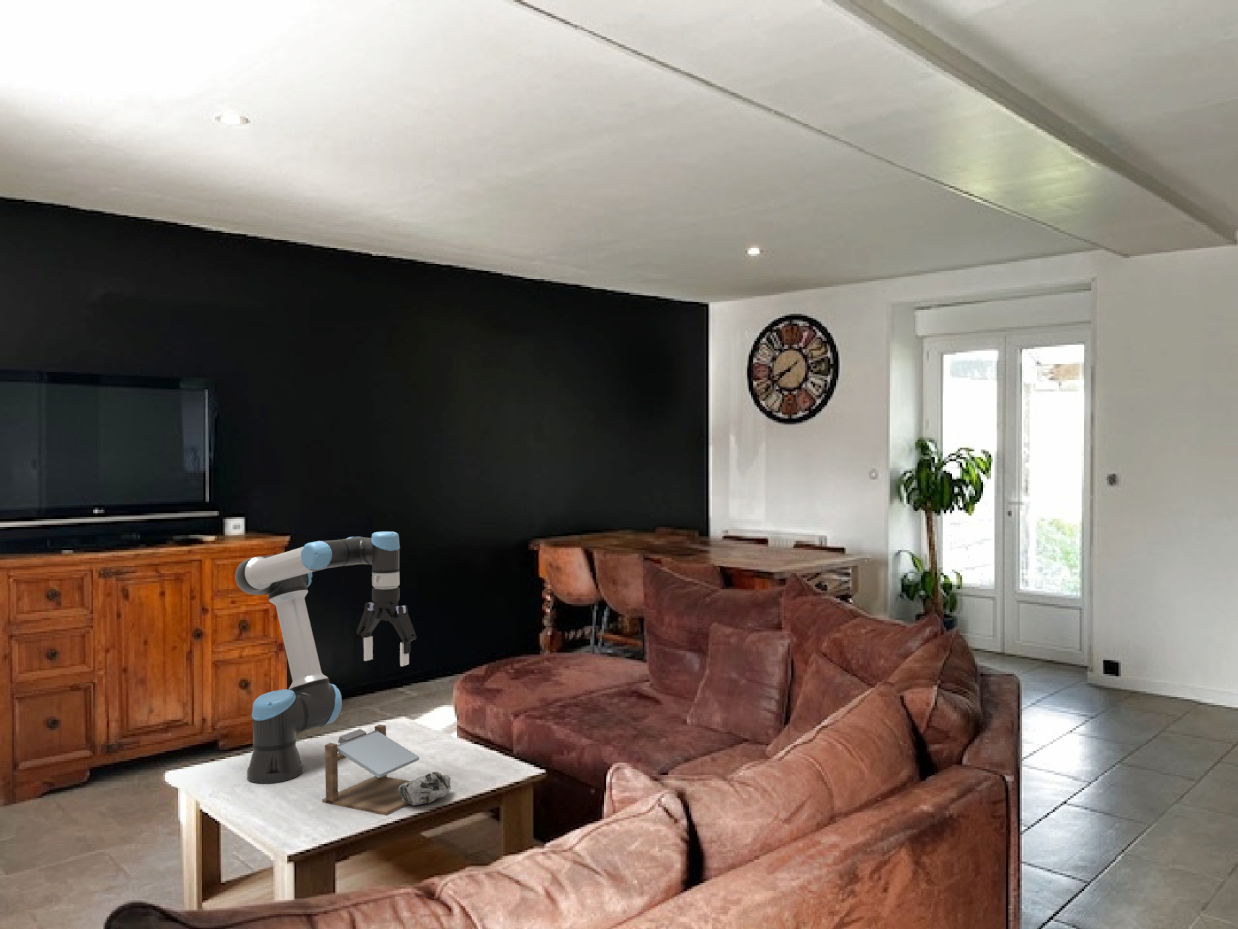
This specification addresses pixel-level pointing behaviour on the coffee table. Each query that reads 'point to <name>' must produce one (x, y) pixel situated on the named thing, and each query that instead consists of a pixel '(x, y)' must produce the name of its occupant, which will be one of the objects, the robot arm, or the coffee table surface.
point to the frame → (362, 787)
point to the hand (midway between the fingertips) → (386, 662)
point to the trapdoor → (375, 752)
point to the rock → (425, 788)
